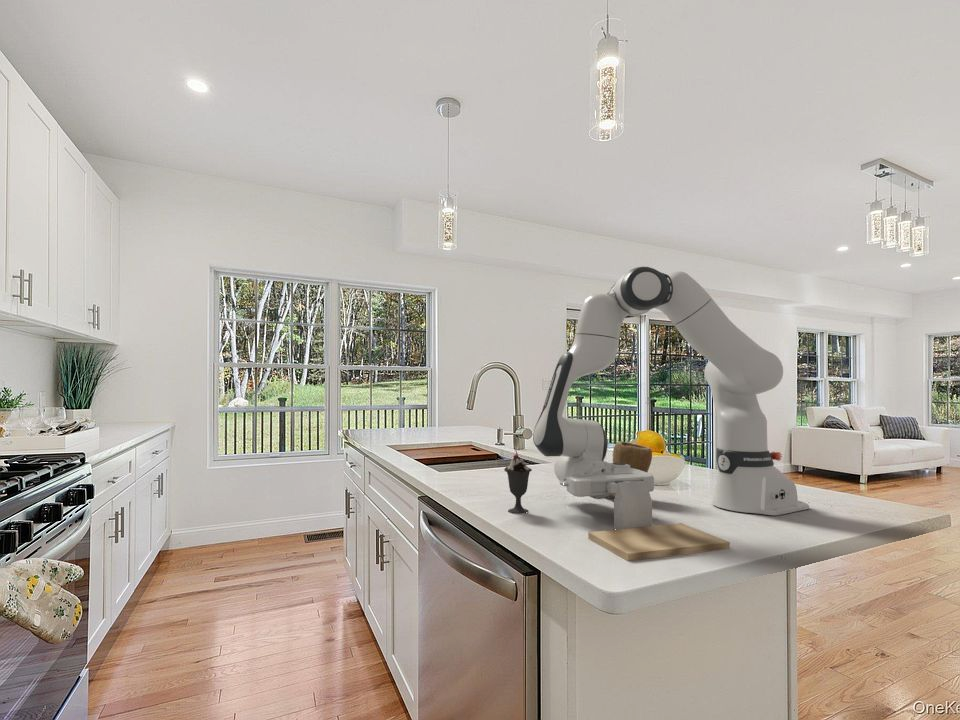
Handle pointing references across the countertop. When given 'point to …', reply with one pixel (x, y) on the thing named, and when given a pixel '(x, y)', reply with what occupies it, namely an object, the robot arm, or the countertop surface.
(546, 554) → the countertop surface
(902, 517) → the countertop surface
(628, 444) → the brown suede boot
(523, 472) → the sundae
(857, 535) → the countertop surface
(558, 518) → the countertop surface
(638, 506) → the white printed carton
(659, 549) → the oak board
